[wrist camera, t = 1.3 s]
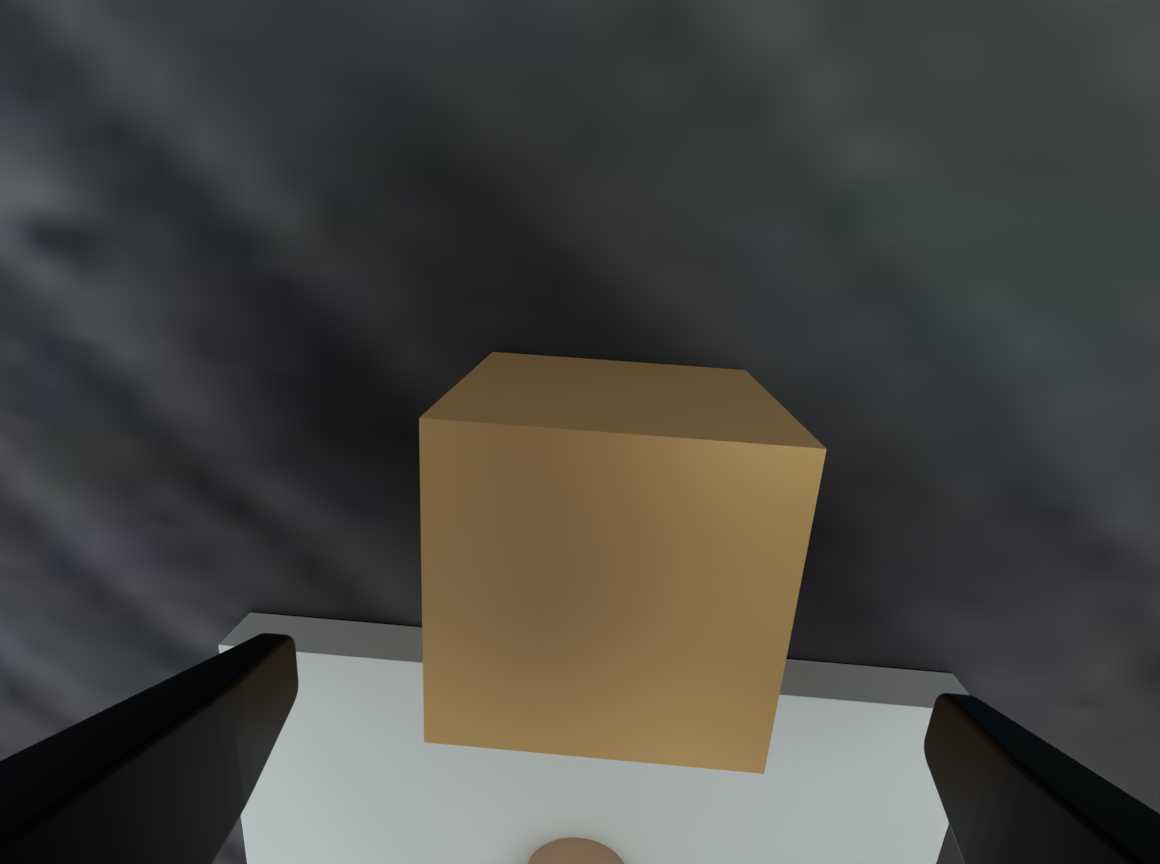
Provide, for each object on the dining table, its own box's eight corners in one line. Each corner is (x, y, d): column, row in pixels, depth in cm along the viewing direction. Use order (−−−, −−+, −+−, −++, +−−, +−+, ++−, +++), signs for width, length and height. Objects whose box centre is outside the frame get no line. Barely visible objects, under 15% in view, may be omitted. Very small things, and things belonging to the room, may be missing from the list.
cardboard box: (713, 593, 17) (764, 773, 11) (488, 574, 17) (424, 742, 11) (745, 369, 15) (826, 449, 9) (492, 352, 15) (418, 418, 9)
